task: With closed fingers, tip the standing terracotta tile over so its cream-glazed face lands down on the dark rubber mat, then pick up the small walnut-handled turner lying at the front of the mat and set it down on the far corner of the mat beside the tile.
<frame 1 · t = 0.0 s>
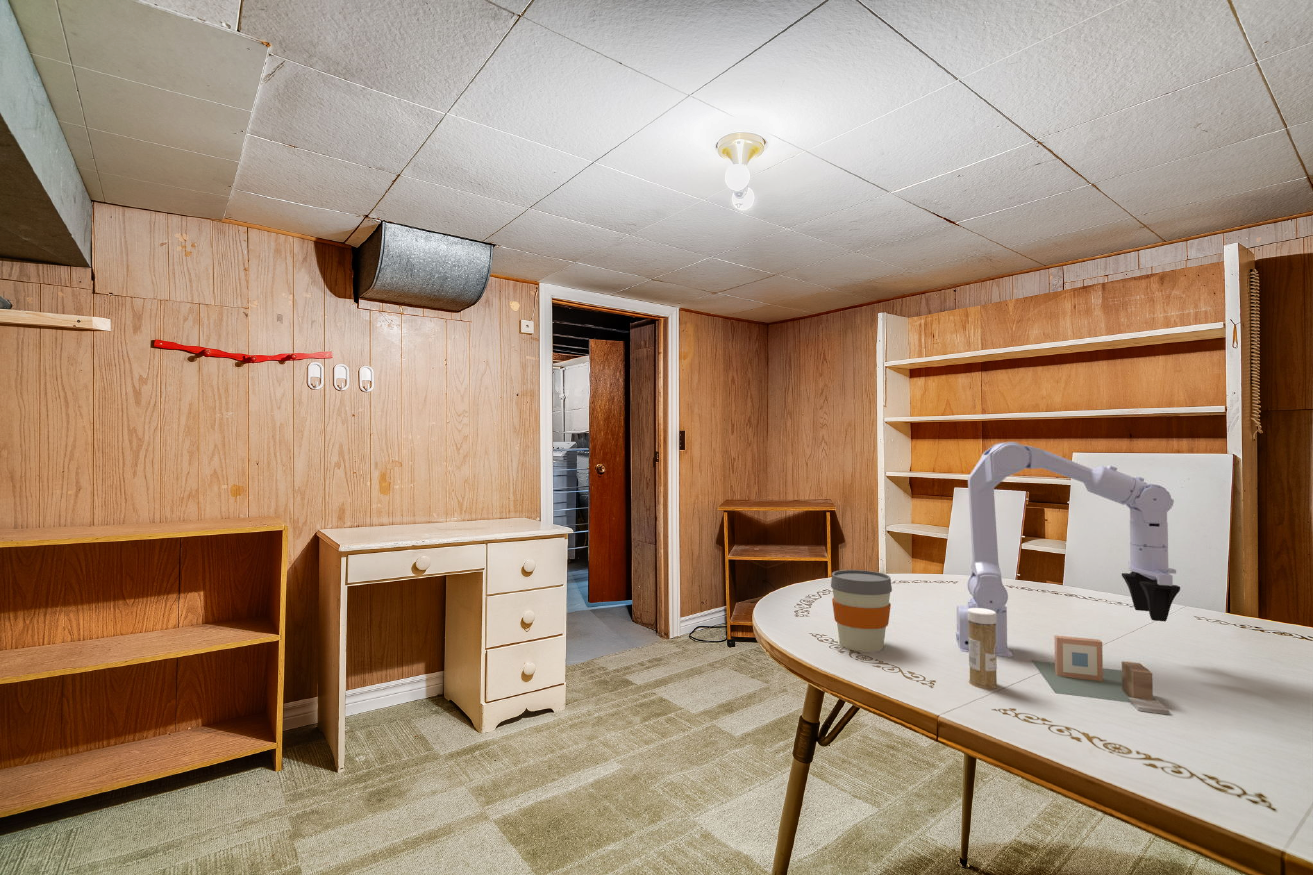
hand: (1150, 615, 115), 10 cm above the table, tool pointing down, fingers open, 7 cm apart
sprinkles bottle: (982, 687, 105), on the table
tile: (1078, 676, 109), resting on mat
mat: (1091, 683, 107), on the table
reusable coffee cup: (861, 645, 128), on the table
turner: (1137, 696, 100), on the table, touching mat
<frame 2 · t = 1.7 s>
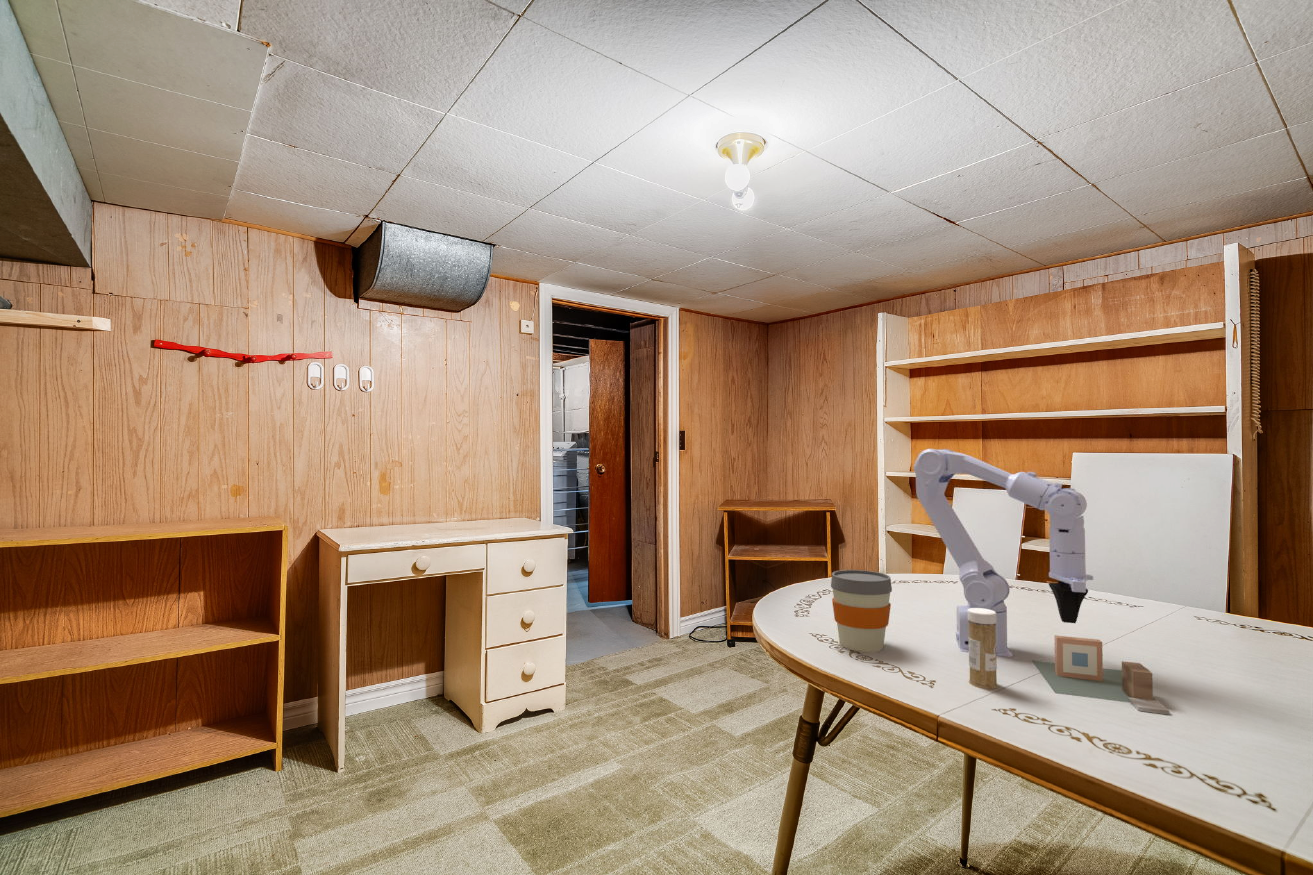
hand: (1068, 621, 115), 9 cm above the table, tool pointing down, fingers closed
nothing on the table moved.
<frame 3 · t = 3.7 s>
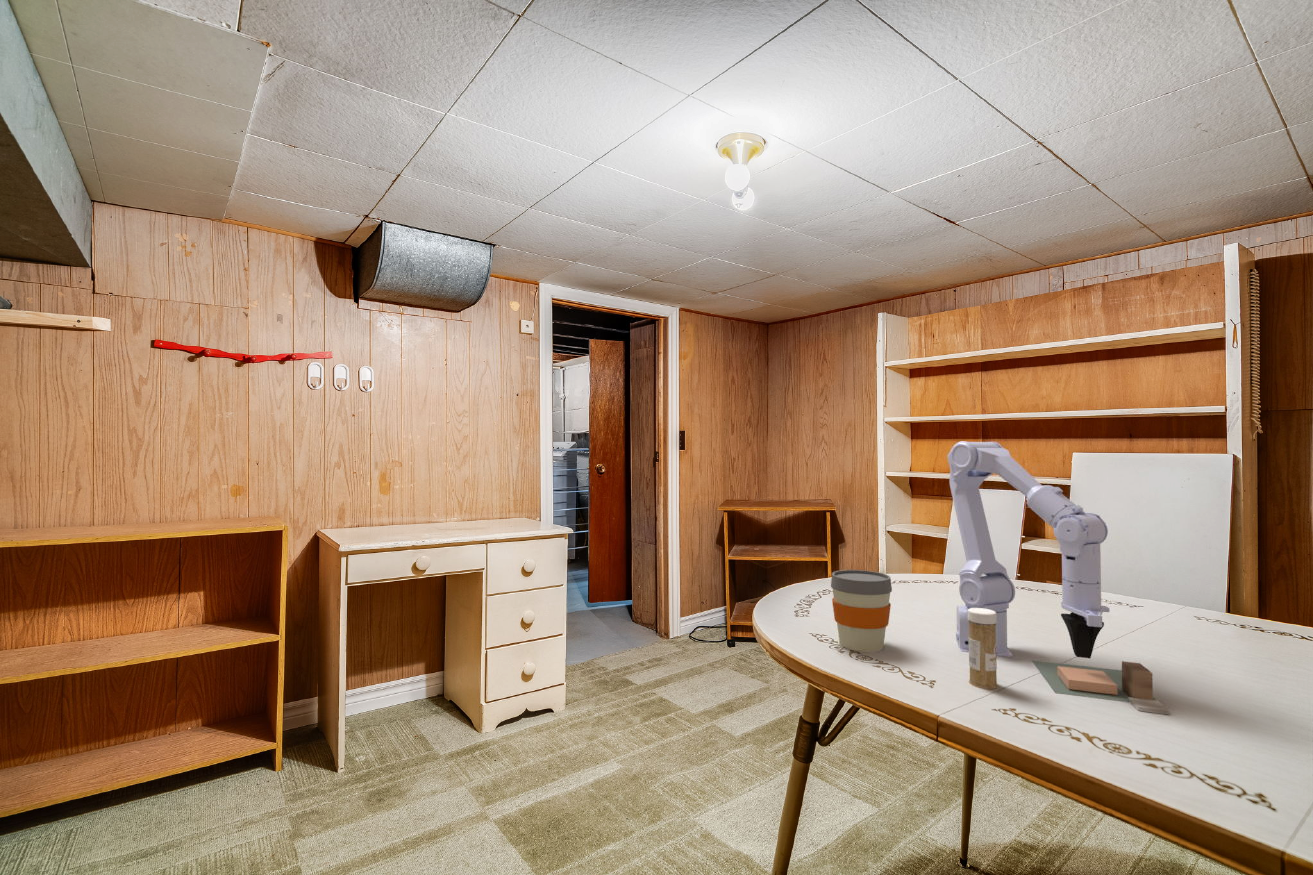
hand: (1082, 656, 107), 5 cm above the table, tool pointing down, fingers closed
tile: (1079, 672, 108), point 1 cm above the table, tilted 90°, touching mat
everything else where it was.
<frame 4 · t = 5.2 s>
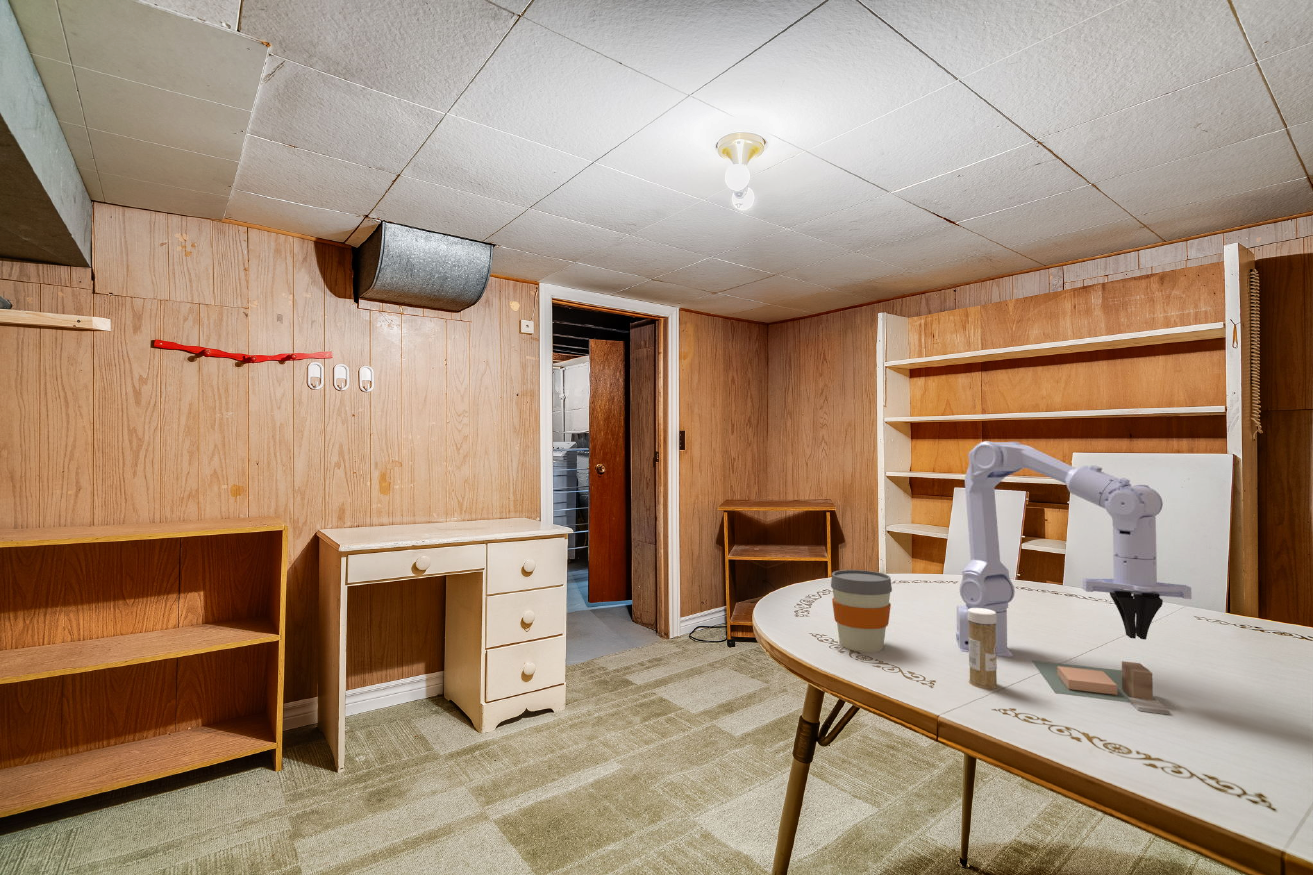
hand: (1136, 637, 100), 10 cm above the table, tool pointing down, fingers closed
nothing on the table moved.
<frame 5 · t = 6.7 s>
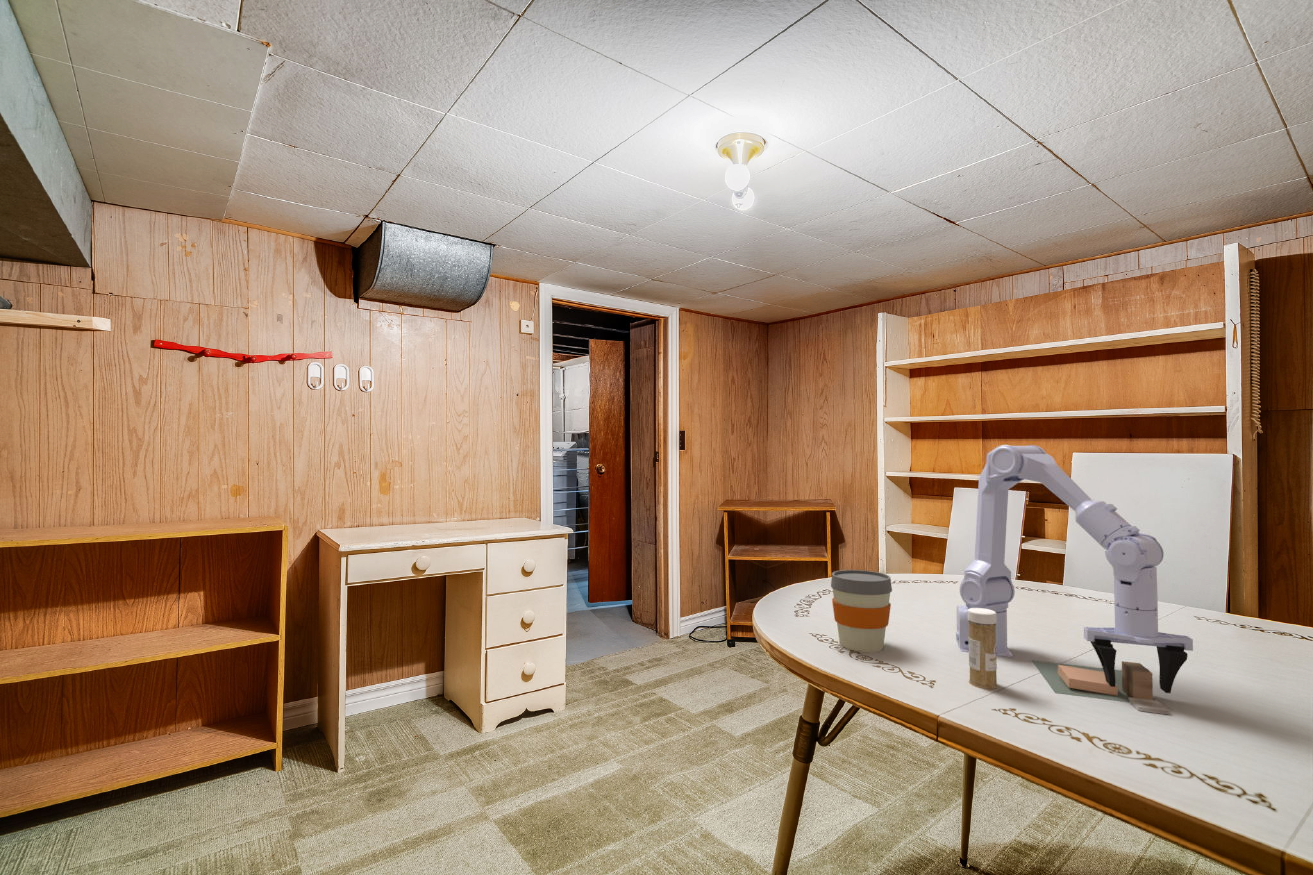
hand: (1137, 687, 100), 2 cm above the table, tool pointing down, fingers open, 7 cm apart
tile: (1080, 672, 108), point 1 cm above the table, tilted 90°, touching gripper, mat
everything else where it was.
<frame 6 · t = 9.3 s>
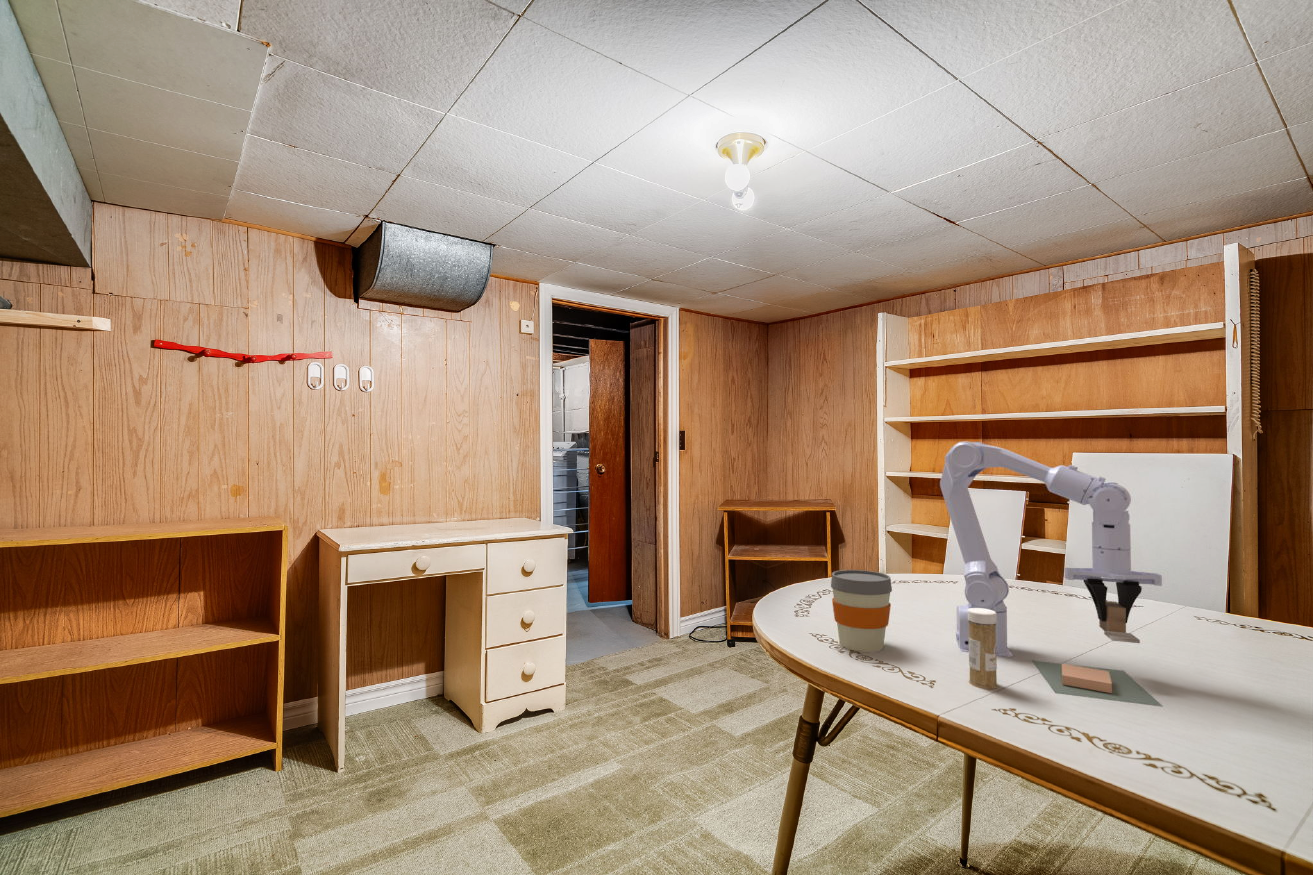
hand: (1112, 620, 110), 10 cm above the table, tool pointing down, fingers closed on turner, 3 cm apart
tile: (1084, 671, 109), point 1 cm above the table, tilted 90°, touching mat
turner: (1112, 631, 110), point 8 cm above the table, touching gripper
everything else where it was.
when the fingers open (3 cm above the table, at t = 11.2 s): turner stays where it is, resting on mat.
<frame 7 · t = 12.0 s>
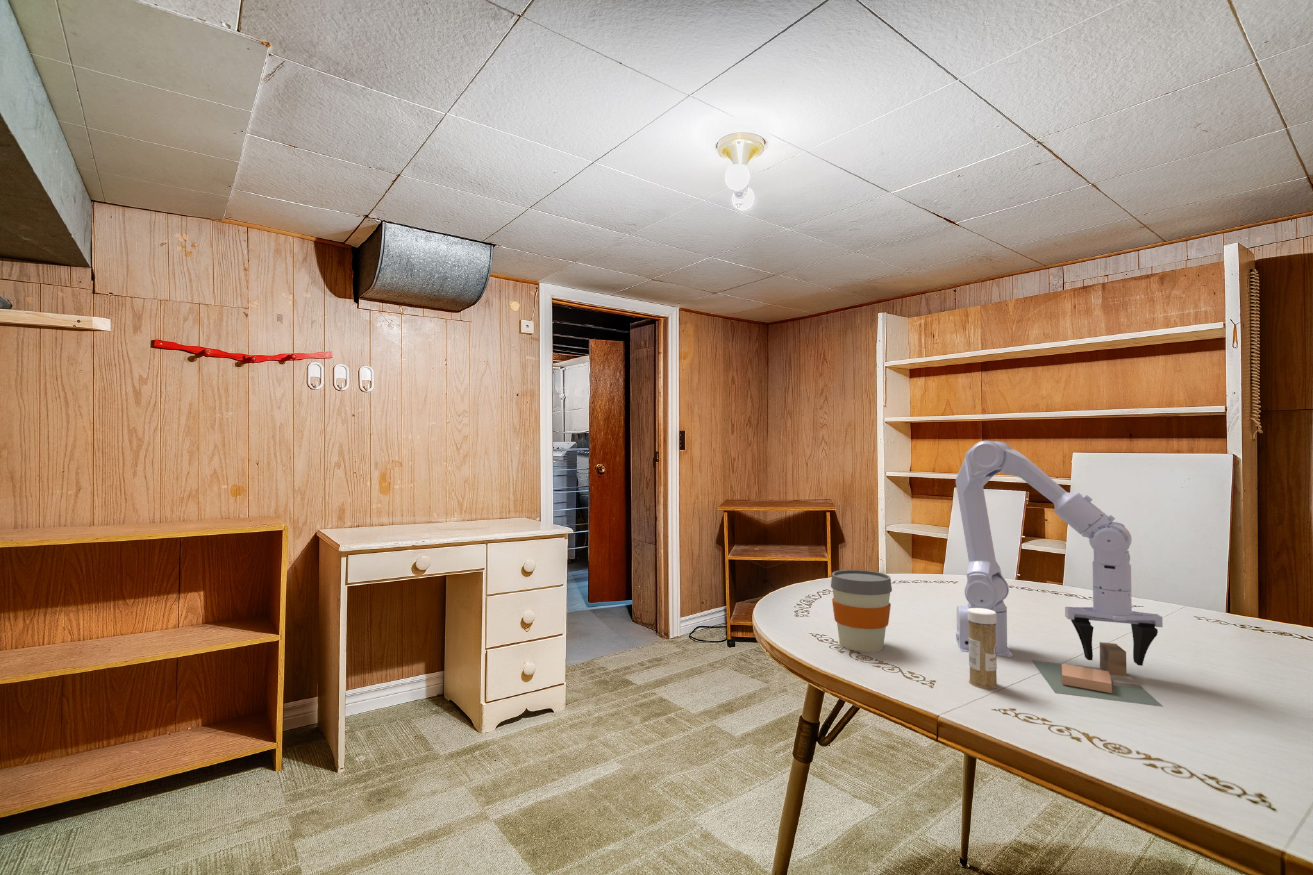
hand: (1113, 661, 110), 3 cm above the table, tool pointing down, fingers open, 7 cm apart
turner: (1113, 673, 110), resting on mat
everything else where it was.
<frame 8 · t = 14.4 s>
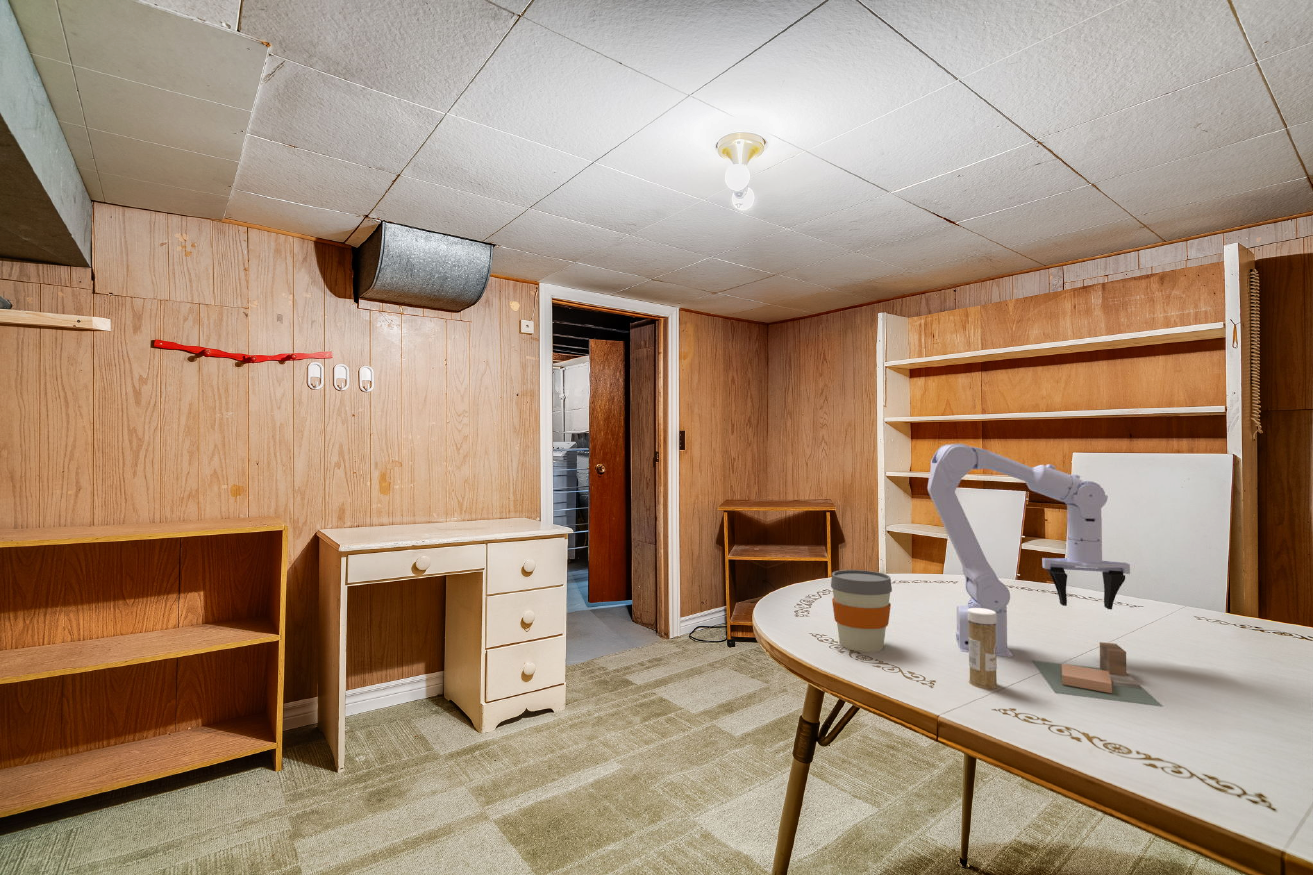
hand: (1085, 606, 120), 10 cm above the table, tool pointing down, fingers open, 7 cm apart
nothing on the table moved.
at the end: tile tilted 90°; tile inside the target area (2.2 cm from its centre), point 1.4 cm above the table; turner inside the target area (0.3 cm from its centre), resting on mat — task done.
